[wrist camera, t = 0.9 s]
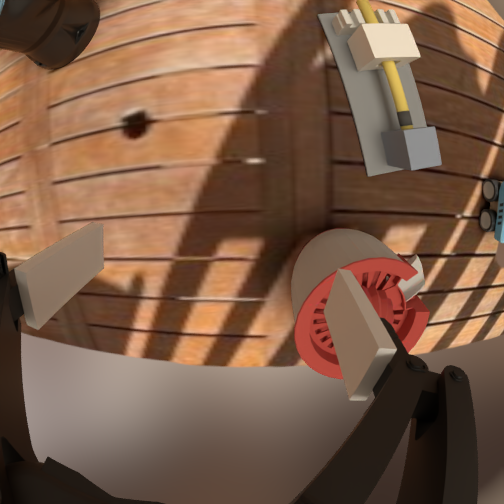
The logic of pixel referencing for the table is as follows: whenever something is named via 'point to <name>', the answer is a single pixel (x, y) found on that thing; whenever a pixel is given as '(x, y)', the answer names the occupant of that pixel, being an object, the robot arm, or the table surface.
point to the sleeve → (382, 45)
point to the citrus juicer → (371, 281)
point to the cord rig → (381, 99)
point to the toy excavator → (493, 208)
